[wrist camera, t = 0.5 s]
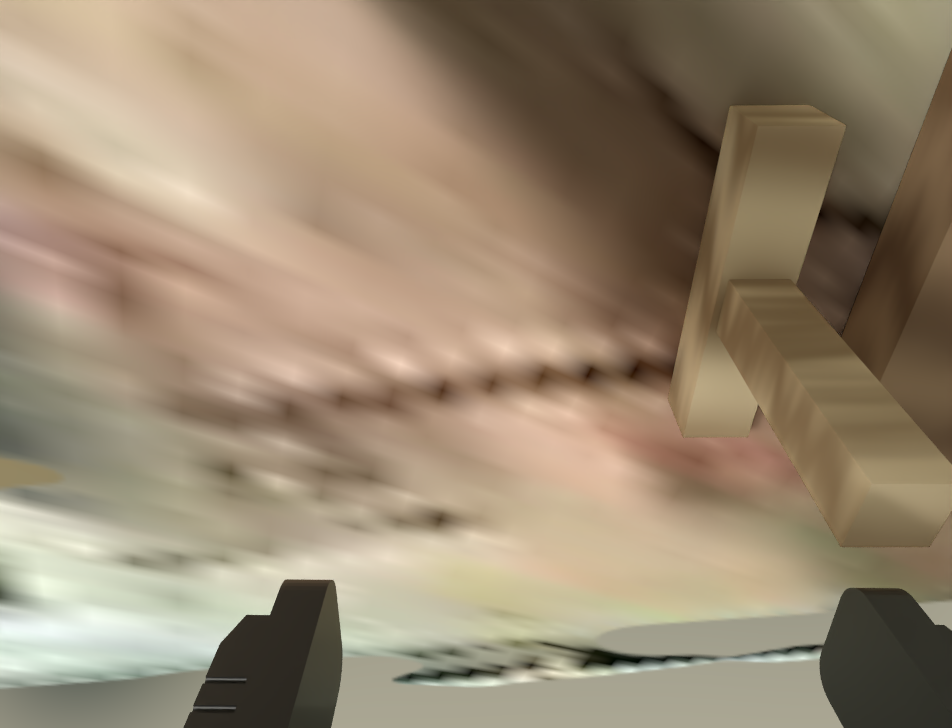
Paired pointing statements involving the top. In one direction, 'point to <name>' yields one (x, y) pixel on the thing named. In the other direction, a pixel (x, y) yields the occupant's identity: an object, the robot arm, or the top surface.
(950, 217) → the walnut plate
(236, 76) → the top surface
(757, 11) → the top surface
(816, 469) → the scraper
